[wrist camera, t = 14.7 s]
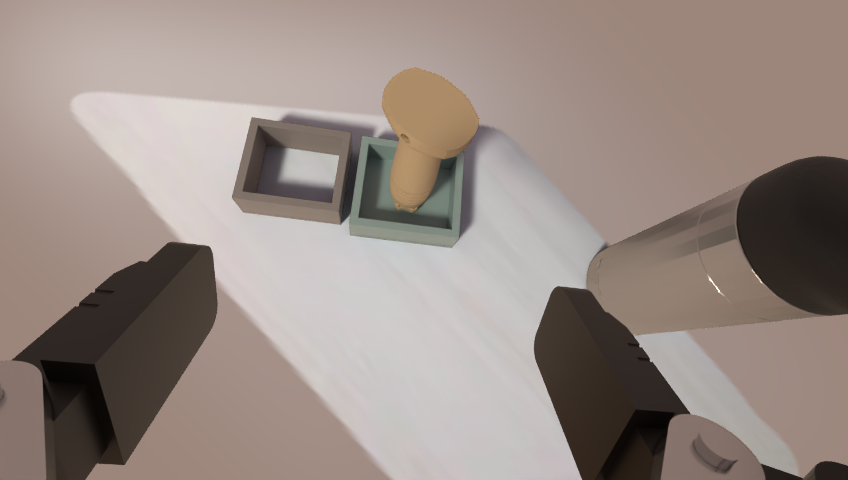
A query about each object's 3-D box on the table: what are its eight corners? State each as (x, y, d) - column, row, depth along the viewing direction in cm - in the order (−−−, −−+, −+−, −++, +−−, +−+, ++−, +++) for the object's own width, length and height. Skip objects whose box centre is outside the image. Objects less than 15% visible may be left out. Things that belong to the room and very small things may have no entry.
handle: (398, 162, 41) (417, 55, 27) (446, 203, 40) (492, 116, 26) (366, 194, 39) (367, 99, 25) (415, 237, 39) (446, 164, 25)
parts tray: (456, 166, 42) (464, 151, 39) (451, 247, 40) (459, 238, 36) (362, 152, 41) (362, 135, 38) (350, 235, 38) (349, 224, 35)
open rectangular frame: (352, 150, 41) (351, 132, 38) (340, 224, 39) (338, 211, 35) (260, 137, 40) (251, 117, 37) (243, 212, 38) (231, 197, 34)
